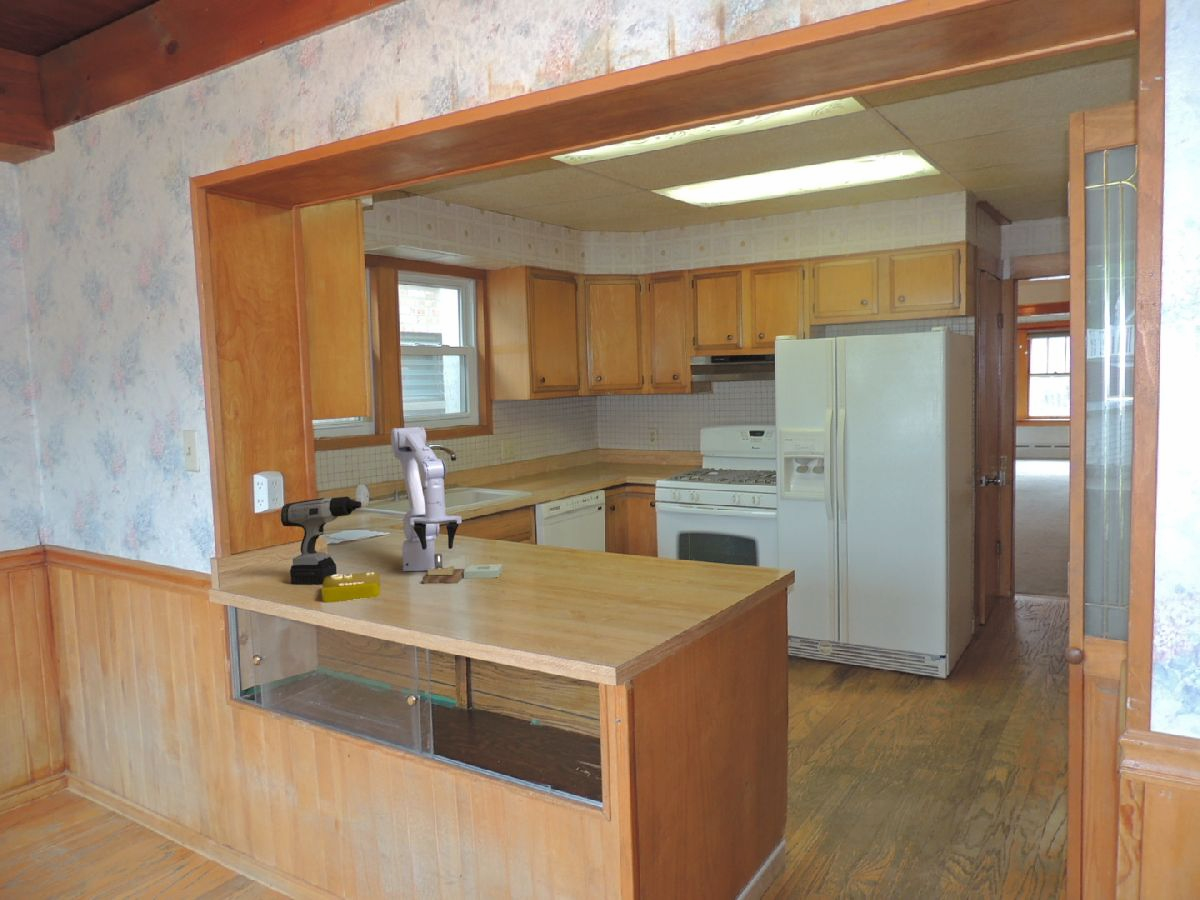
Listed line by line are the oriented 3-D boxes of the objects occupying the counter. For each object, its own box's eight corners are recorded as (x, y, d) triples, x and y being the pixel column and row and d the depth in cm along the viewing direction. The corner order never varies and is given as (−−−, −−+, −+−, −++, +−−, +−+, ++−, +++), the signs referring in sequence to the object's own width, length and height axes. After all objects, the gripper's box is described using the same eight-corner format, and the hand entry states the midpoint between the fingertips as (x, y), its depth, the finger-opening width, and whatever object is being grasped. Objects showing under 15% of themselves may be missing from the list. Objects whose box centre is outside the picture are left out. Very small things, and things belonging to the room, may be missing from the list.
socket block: (423, 583, 243) (422, 577, 242) (431, 576, 252) (430, 569, 251) (458, 583, 242) (457, 576, 242) (464, 575, 251) (464, 568, 251)
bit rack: (464, 578, 247) (463, 571, 247) (469, 571, 255) (469, 565, 255) (498, 577, 247) (498, 570, 247) (503, 570, 255) (502, 564, 254)
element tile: (322, 604, 226) (321, 586, 226) (325, 591, 241) (324, 574, 240) (381, 599, 230) (379, 581, 229) (380, 585, 244) (379, 569, 244)
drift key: (427, 575, 243) (427, 568, 242) (429, 573, 245) (429, 566, 245) (452, 575, 242) (452, 568, 242) (454, 573, 244) (454, 566, 244)
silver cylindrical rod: (434, 579, 248) (433, 555, 247) (436, 577, 250) (435, 553, 249) (442, 579, 248) (440, 555, 247) (443, 577, 250) (442, 553, 249)
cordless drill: (359, 585, 244) (353, 498, 241) (281, 584, 249) (274, 499, 246) (371, 578, 251) (366, 494, 249) (296, 577, 256) (289, 495, 254)
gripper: (406, 505, 243) (409, 552, 244) (456, 503, 242) (459, 550, 244) (412, 501, 250) (415, 547, 251) (462, 499, 249) (464, 545, 251)
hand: (437, 548), depth 248 cm, fingers open, 7 cm apart
